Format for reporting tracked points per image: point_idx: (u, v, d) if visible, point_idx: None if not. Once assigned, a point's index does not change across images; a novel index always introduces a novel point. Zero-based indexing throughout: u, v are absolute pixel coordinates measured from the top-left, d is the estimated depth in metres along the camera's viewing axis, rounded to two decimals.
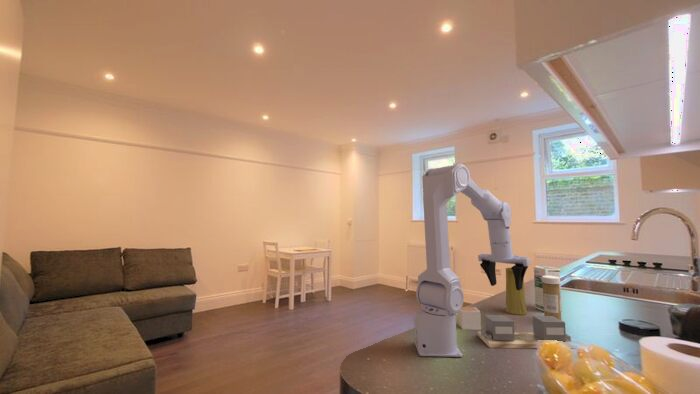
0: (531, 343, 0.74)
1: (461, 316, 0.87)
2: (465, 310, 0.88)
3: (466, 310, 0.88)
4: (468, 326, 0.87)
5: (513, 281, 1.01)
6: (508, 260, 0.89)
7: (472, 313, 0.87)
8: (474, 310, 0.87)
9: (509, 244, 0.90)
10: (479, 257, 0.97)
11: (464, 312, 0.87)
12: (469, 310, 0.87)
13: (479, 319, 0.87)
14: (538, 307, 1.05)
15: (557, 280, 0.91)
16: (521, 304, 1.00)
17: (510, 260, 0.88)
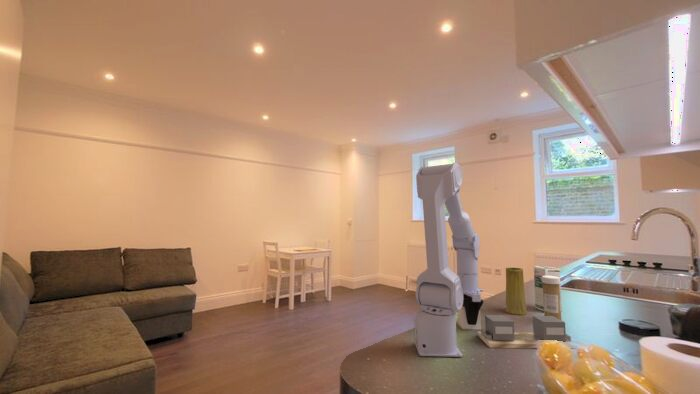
0: (531, 343, 0.74)
1: (461, 316, 0.87)
2: None
3: None
4: (468, 326, 0.87)
5: (513, 281, 1.01)
6: (463, 292, 0.87)
7: None
8: None
9: (469, 276, 0.87)
10: None
11: (464, 312, 0.87)
12: None
13: (479, 319, 0.87)
14: (538, 307, 1.05)
15: (557, 280, 0.91)
16: (521, 304, 1.00)
17: (464, 292, 0.86)
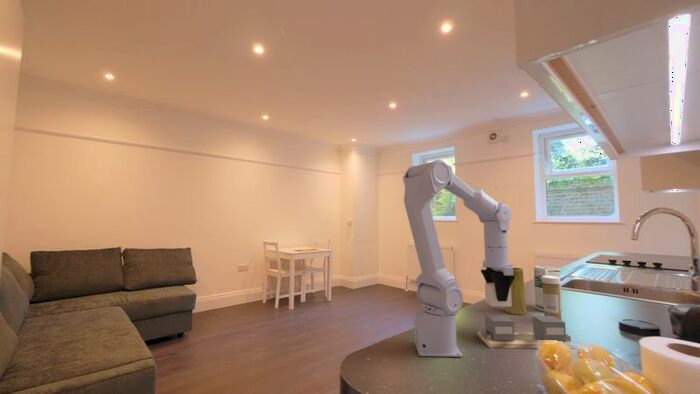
0: (531, 343, 0.74)
1: (490, 292, 0.81)
2: (494, 286, 0.82)
3: None
4: (498, 302, 0.81)
5: (513, 281, 1.01)
6: (492, 266, 0.81)
7: None
8: None
9: (498, 250, 0.81)
10: (483, 262, 0.90)
11: (493, 288, 0.81)
12: None
13: (510, 295, 0.81)
14: (538, 307, 1.05)
15: (557, 280, 0.91)
16: (521, 304, 1.00)
17: (494, 266, 0.80)
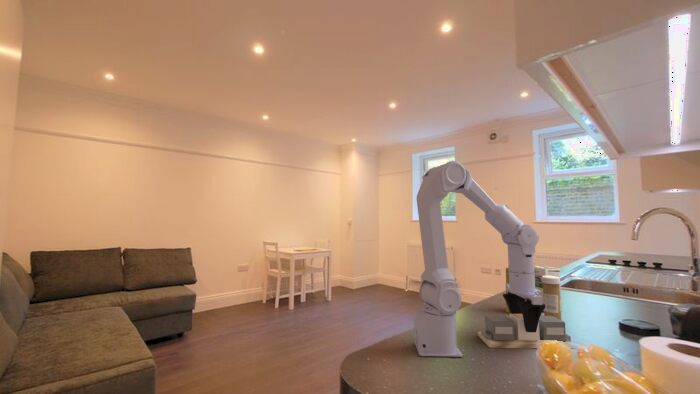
0: (531, 343, 0.74)
1: (517, 325, 0.76)
2: (521, 318, 0.76)
3: (522, 318, 0.76)
4: (524, 336, 0.75)
5: None
6: (518, 293, 0.76)
7: None
8: None
9: (525, 275, 0.76)
10: (506, 286, 0.85)
11: (520, 320, 0.76)
12: None
13: (537, 328, 0.75)
14: None
15: (557, 280, 0.91)
16: None
17: (520, 294, 0.75)
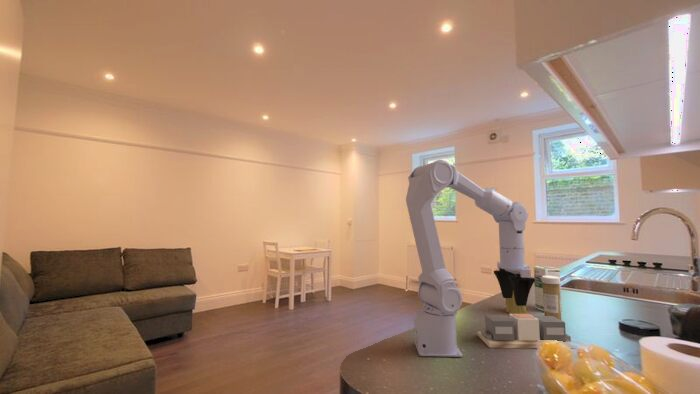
0: (531, 343, 0.74)
1: (517, 325, 0.76)
2: (521, 318, 0.76)
3: (522, 318, 0.76)
4: (524, 336, 0.75)
5: None
6: (508, 268, 0.78)
7: (529, 321, 0.75)
8: (531, 318, 0.76)
9: (515, 251, 0.78)
10: (497, 264, 0.87)
11: (520, 320, 0.76)
12: (525, 318, 0.76)
13: (537, 328, 0.75)
14: (538, 307, 1.05)
15: (557, 280, 0.91)
16: None
17: (510, 268, 0.77)
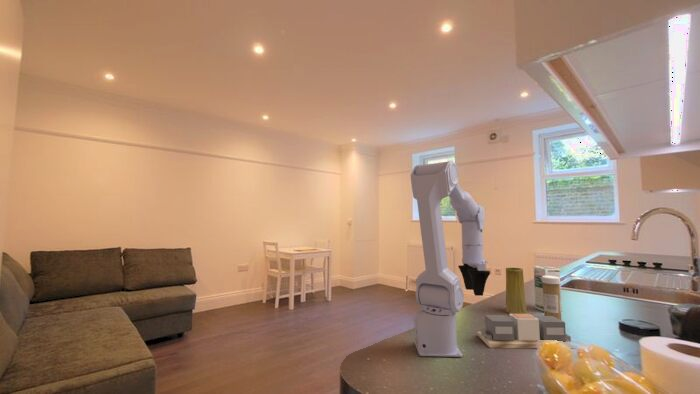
0: (531, 343, 0.74)
1: (517, 325, 0.76)
2: (521, 318, 0.76)
3: (522, 318, 0.76)
4: (524, 336, 0.75)
5: (513, 281, 1.01)
6: (468, 262, 0.88)
7: (529, 321, 0.75)
8: (531, 318, 0.76)
9: (474, 247, 0.89)
10: (462, 259, 0.98)
11: (520, 320, 0.76)
12: (525, 318, 0.76)
13: (537, 328, 0.75)
14: (538, 307, 1.05)
15: (557, 280, 0.91)
16: (521, 304, 1.00)
17: (469, 263, 0.88)
